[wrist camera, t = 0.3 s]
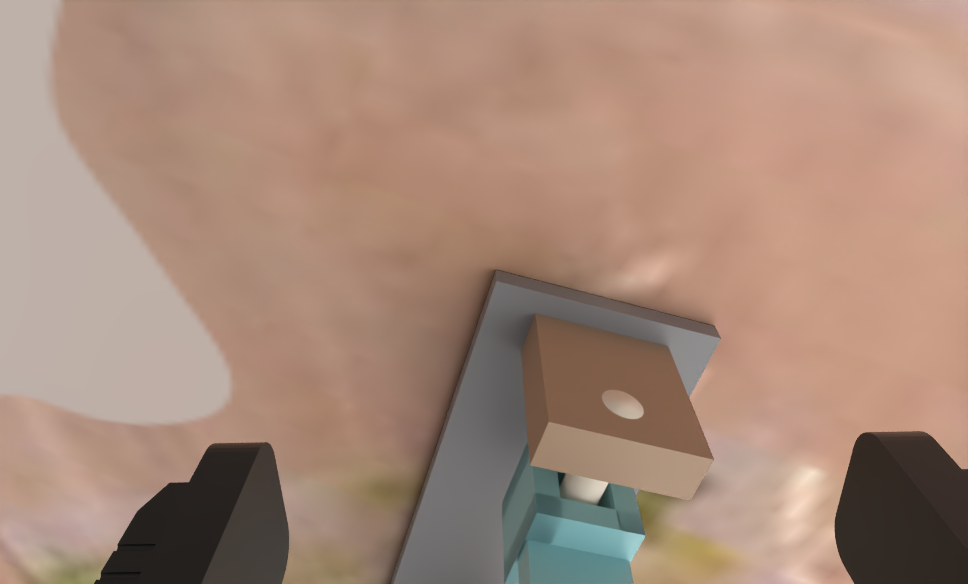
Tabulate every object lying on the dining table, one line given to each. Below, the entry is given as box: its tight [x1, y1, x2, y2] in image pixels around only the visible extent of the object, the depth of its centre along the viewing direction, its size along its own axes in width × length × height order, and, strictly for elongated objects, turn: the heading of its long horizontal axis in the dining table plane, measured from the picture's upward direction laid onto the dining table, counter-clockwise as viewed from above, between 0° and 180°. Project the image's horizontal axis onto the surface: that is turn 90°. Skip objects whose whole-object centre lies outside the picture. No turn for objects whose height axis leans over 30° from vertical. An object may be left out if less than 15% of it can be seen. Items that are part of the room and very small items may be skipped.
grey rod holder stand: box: [390, 270, 721, 584], centre depth 33 cm, size 26×10×8 cm, turn 164°
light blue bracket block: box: [502, 442, 646, 584], centre depth 26 cm, size 4×4×10 cm
